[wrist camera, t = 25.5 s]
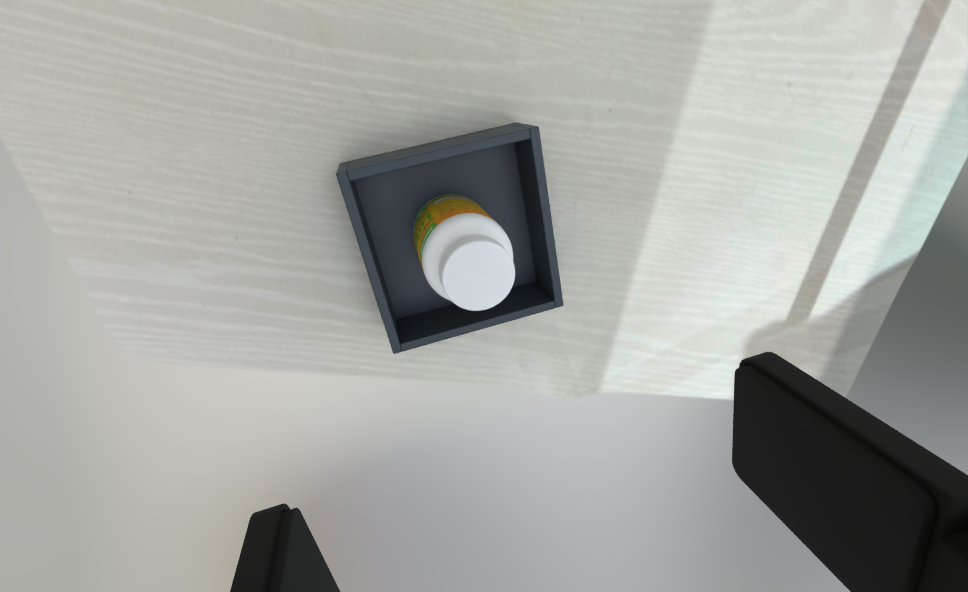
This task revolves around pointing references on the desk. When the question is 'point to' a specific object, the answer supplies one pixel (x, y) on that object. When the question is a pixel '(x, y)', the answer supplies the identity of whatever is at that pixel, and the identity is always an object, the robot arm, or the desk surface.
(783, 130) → the desk surface
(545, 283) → the slate bin
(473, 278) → the supplement bottle
